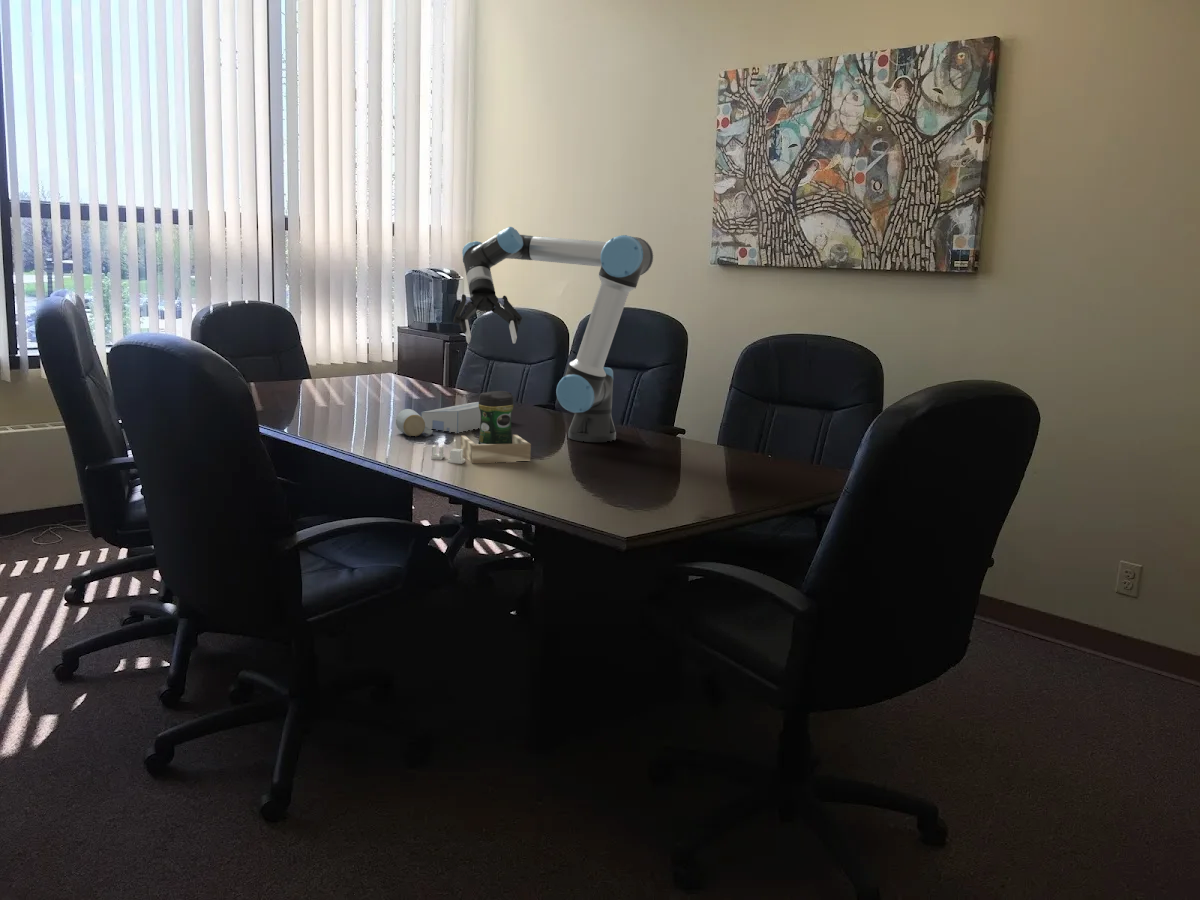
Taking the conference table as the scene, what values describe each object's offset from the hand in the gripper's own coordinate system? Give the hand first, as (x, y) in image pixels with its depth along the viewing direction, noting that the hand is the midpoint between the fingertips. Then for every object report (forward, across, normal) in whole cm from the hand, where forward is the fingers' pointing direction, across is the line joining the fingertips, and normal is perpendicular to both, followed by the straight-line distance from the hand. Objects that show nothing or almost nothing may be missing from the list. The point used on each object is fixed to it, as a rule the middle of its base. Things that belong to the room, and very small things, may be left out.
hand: (492, 340), depth 279 cm
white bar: (-5, -2, -50) cm, 50 cm away
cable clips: (+34, +16, -10) cm, 39 cm away
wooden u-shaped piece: (+32, +2, -12) cm, 34 cm away
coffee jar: (+32, +2, -13) cm, 35 cm away
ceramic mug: (+7, +18, -38) cm, 43 cm away
